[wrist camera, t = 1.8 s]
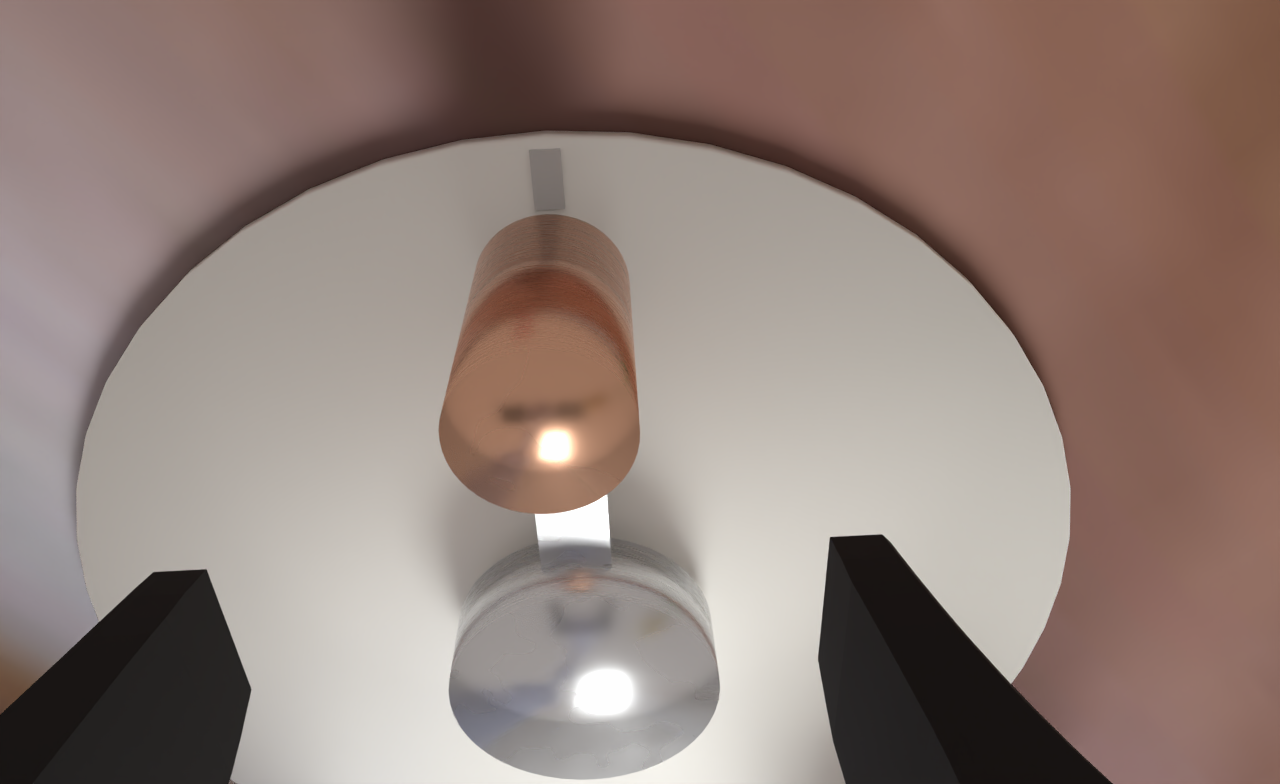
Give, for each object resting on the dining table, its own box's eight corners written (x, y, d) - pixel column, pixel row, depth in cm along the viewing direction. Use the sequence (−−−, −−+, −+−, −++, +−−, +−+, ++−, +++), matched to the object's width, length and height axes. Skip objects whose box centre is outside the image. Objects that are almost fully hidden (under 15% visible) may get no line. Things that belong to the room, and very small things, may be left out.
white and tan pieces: (710, 708, 26) (735, 908, 22) (475, 721, 26) (450, 924, 22) (715, 195, 18) (755, 339, 14) (377, 212, 18) (303, 361, 14)
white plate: (236, 886, 32) (226, 916, 31) (-103, 160, 19) (-136, 178, 18) (979, 843, 32) (989, 872, 32) (1179, 100, 19) (1205, 116, 18)
